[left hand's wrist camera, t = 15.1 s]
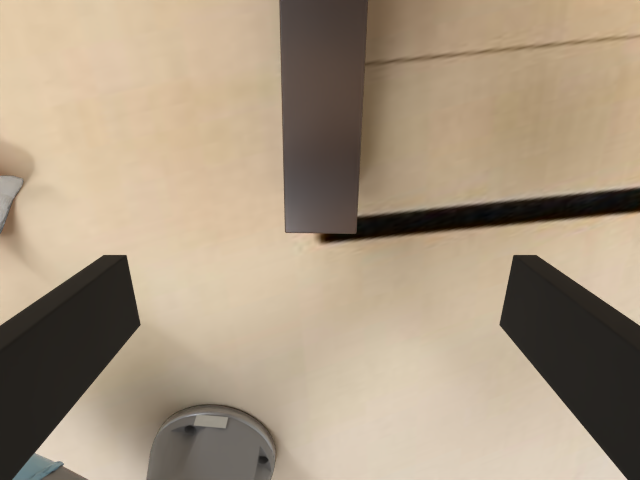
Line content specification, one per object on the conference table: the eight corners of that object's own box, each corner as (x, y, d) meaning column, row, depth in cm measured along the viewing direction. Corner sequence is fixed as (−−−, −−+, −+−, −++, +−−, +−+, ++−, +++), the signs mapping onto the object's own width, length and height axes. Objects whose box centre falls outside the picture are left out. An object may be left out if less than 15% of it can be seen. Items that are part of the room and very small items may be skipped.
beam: (347, 198, 34) (356, 233, 25) (295, 198, 34) (285, 233, 25) (362, -200, 25) (387, -388, 15) (289, -201, 25) (269, -390, 15)
